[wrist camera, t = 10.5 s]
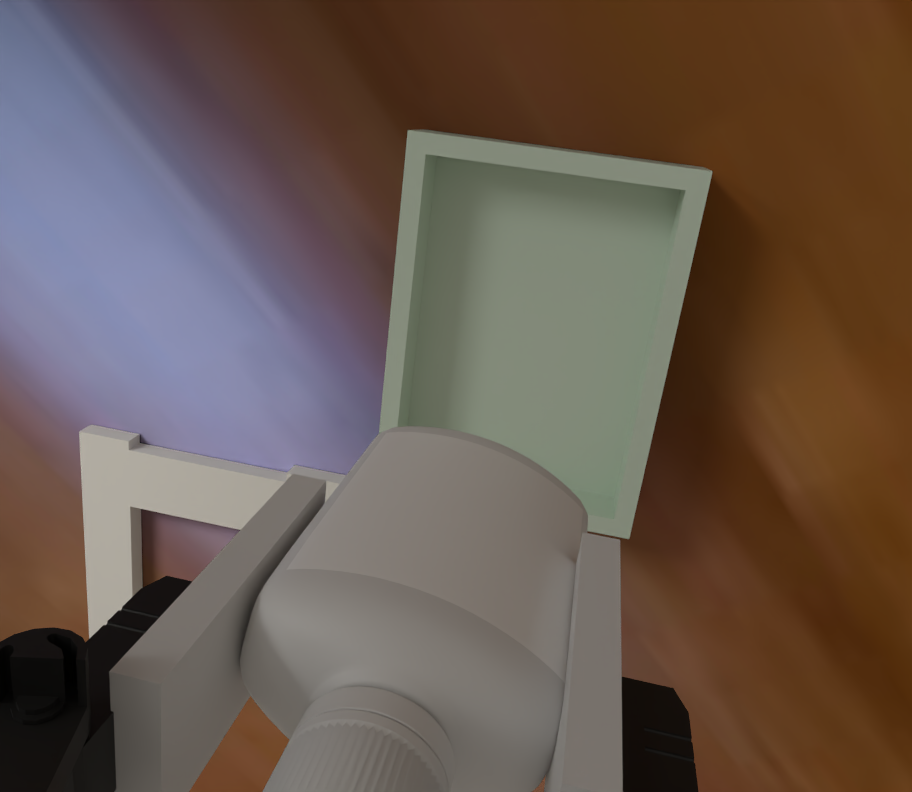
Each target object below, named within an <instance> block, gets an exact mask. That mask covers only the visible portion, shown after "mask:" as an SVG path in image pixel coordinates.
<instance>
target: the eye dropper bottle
mask: <svg viewBox="0 0 912 792" xmlns="http://www.w3.org/2000/svg"><path fill="white" fill-rule="evenodd" d="M587 528H588V514H587V512H586V510H585V508H584V506H583V504H582V502H581V500H580V499H579V498H578V497H577V496H576V495H575V494H574V493H573V492H572V491H571V490H570V489H569V488H568V487H567V486H566V485H565V484H564V483H562V482H561V481H560V480H559V479H558V478H556V477H555V476H554V475H553V474H551V473H550V472H549V471H547V470H546V469H544V468H543V467H542V466H540V465H539V464H537V463H535V462H534V461H532V460H531V459H529V458H527V457H526V456H524V455H522V454H520V453H518V452H516V451H514V450H512V449H510V448H508V447H506V446H504V445H501V444H499V443H497V442H494V441H491V440H489V439H486V438H483V437H480V436H476V435H473V434H469V433H465V432H461V431H456V430H450V429H444V428H436V427H423V426H405V427H394V428H391V429H388V430H386V431H383V432H381V433H379V434H378V435H377V436H376V438H375V439H374V440H373V441H372V443H371V444H370V445H369V447H368V448H367V449H366V450H365V452H364V453H363V454H362V456H361V457H360V458H359V459H358V461H357V462H356V463H355V465H354V466H353V467H352V469H351V470H350V471H349V472H348V474H347V475H346V476H345V478H344V479H343V480H342V482H341V483H340V484H339V485H338V487H337V488H336V489H335V491H334V492H333V493H332V495H331V496H330V497H329V499H328V500H327V501H326V502H325V504H324V505H323V506H322V508H321V509H320V510H319V512H318V513H317V514H316V516H315V517H314V518H313V520H312V521H311V522H310V524H309V525H308V526H307V527H306V529H305V530H304V531H303V533H302V534H301V535H300V537H299V538H298V539H297V541H296V542H295V543H294V545H293V546H292V547H291V549H290V550H289V551H288V552H287V554H286V555H285V557H284V558H283V559H282V561H281V562H280V564H279V565H278V566H277V568H276V569H275V571H274V572H273V573H272V575H271V576H270V578H269V579H268V580H267V582H266V583H265V584H264V586H263V588H262V590H261V592H260V593H259V595H258V597H257V599H256V602H255V605H254V608H253V610H252V613H251V617H250V620H249V623H248V627H247V630H246V634H245V638H244V641H243V645H242V650H241V656H240V668H241V676H242V680H243V682H244V685H245V686H246V688H247V690H248V692H249V693H250V695H251V697H252V698H253V700H254V701H255V702H256V704H257V705H258V706H259V707H260V709H261V710H262V711H263V712H264V713H265V715H266V716H267V717H268V718H269V719H270V720H271V721H272V722H273V723H274V724H275V725H276V726H277V728H278V729H279V730H280V731H281V732H282V733H283V734H284V735H285V736H286V737H287V738H288V739H289V740H290V741H289V743H288V744H287V746H286V748H285V750H284V752H283V754H282V756H281V758H280V760H279V762H278V763H277V765H276V767H275V769H274V771H273V773H272V775H271V777H270V779H269V780H268V782H267V784H266V786H265V788H264V790H263V792H532V791H533V790H534V789H535V788H537V787H538V786H539V784H540V783H541V781H542V780H543V778H544V777H545V775H546V773H547V772H548V770H549V768H550V765H551V761H552V758H553V754H554V749H555V745H556V740H557V735H558V730H559V724H560V718H561V712H562V704H563V697H564V688H565V678H566V668H567V657H568V647H569V636H570V625H571V614H572V603H573V592H574V581H575V570H576V563H577V558H578V553H579V548H580V543H581V538H582V533H583V532H584V533H587Z"/></svg>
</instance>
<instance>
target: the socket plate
mask: <svg viewBox="0 0 912 792" xmlns="http://www.w3.org/2000/svg"><path fill="white" fill-rule="evenodd" d="M79 438H80V458H81V478H82V499H83V519H84V539H85V560H86V580H87V600H88V621H89V639H90V638H91V637H92V636H93V635H94V634H95V633H96V632H97V631H98V630H99V629H100V628H101V627H102V626H103V625H106V624H107V621H108V620H109V619H110V618H111V617H112V616H113V615H114V614H115V613H116V612H117V611H118V610H120V611H121V610H122V606H123V605H124V604H126V603H127V602H128V601H129V600H130V599H131V598H132V597H133V596H134V595H135V594H136V593H137V592H138V591H139V590H140V589H141V588H143V582H142V533H141V509H144V510H149V511H154V512H159V513H163V514H168V515H173V516H177V517H182V518H187V519H191V520H196V521H201V522H206V523H210V524H215V525H220V526H224V527H229V528H234V529H239V530H241V529H242V528H243V527H244V526H245V525H246V524H247V523H248V521H249V520H250V519H251V518H252V517H253V516H254V515H255V514H256V513H257V512H258V511H259V510H260V509H261V507H262V506H263V505H264V504H265V503H266V502H267V501H268V500H269V499H270V498H271V497H272V496H273V494H274V493H275V492H276V491H277V490H278V489H279V488H280V487H281V486H282V485H283V484H284V483H285V482H286V480H287V479H288V478H289V477H290V476H291V475H292V474H297V475H302V476H307V477H312V478H317V479H322V480H327V481H326V495H325V502H326V501H327V500H328V499H329V497H330V496H331V495H332V493H333V492H334V491H335V489H336V488H337V487H338V485H339V484H340V483H341V482H342V480H343V479H344V478H345V476H346V475H342V474H337V473H332V472H327V471H322V470H317V469H312V468H307V467H302V466H297V465H294V466H293V467H292V468H291V469H290V470H289V471H288V472H282V471H277V470H272V469H267V468H262V467H257V466H252V465H247V464H242V463H237V462H232V461H227V460H222V459H217V458H212V457H207V456H202V455H197V454H192V453H187V452H182V451H177V450H172V449H167V448H162V447H157V446H152V445H147V444H142V443H140V434H136V433H131V432H126V431H121V430H116V429H111V428H106V427H101V426H96V425H90V426H88V427H86V428H84V429H83V430H81V431H79Z"/></svg>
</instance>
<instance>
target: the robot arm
mask: <svg viewBox="0 0 912 792" xmlns="http://www.w3.org/2000/svg"><path fill="white" fill-rule="evenodd" d="M326 481H327V480H322V479H317V478H312V477H307V476H302V475H297V474H292V475H291V476H290V477H289V478H288V479H287V480H286V482H285V483H284V484H283V485H282V486H281V487H280V488H279V489H278V490H277V491H276V492H275V493H274V494H273V496H272V497H271V498H270V499H269V500H268V501H267V502H266V503H265V504H264V505H263V506H262V507H261V509H260V510H259V511H258V512H257V513H256V514H255V515H254V516H253V517H252V518H251V519H250V520H249V521H248V523H247V524H246V525H245V526H244V527H243V528H242V529H241V530H240V531H239V532H238V533H237V534H236V535H235V537H234V538H233V539H232V540H231V541H230V542H229V543H228V544H227V545H226V546H225V547H224V548H223V549H222V551H221V552H220V553H219V554H218V555H217V556H216V557H215V558H214V559H213V560H212V561H211V562H210V563H209V565H208V566H207V567H206V568H205V569H204V570H203V571H202V572H201V573H200V574H199V575H198V576H197V578H196V579H195V580H194V581H193V582H192V581H187V580H183V579H178V578H174V577H170V576H165V577H163V578H161V579H159V580H157V581H155V582H153V583H151V584H149V585H147V586H145V587H143V588H141V589H140V590H139V591H138V592H137V593H136V594H135V595H134V596H133V597H132V598H131V599H130V600H129V601H128V602H127V603H126V604H124V605H123V606H122V610H121V611H120V610H118V611H117V612H116V613H115V614H114V615H113V616H112V617H111V618H110V619H109V620H108V621H107V624H106V625H103V626H102V627H101V628H100V629H99V630H98V631H97V632H96V633H95V634H94V635H93V636H92V637H91V638H90V639H89V640H88V641H87V642H86V643H85V641H84V639H83V638H82V637H81V636H79V635H77V634H76V633H74V632H72V631H70V630H65V629H59V628H40V629H32V630H28V631H25V632H21V633H18V634H14V635H12V636H10V637H8V638H6V639H5V640H3V641H1V642H0V792H189V791H190V789H191V788H192V786H193V785H194V783H195V781H196V780H197V778H198V777H199V775H200V774H201V772H202V771H203V769H204V767H205V766H206V764H207V763H208V761H209V760H210V758H211V756H212V755H213V753H214V752H215V750H216V749H217V747H218V746H219V744H220V742H221V741H222V739H223V738H224V736H225V735H226V733H227V731H228V730H229V728H230V727H231V725H232V724H233V722H234V721H235V719H236V717H237V716H238V714H239V713H240V711H241V710H242V708H243V706H244V705H245V703H246V702H247V700H248V699H249V697H250V696H251V695H250V693H249V692H248V690H247V688H246V686H245V685H244V682H243V680H242V676H241V668H240V656H241V650H242V645H243V641H244V638H245V634H246V630H247V627H248V623H249V620H250V617H251V613H252V610H253V608H254V605H255V602H256V599H257V597H258V595H259V593H260V592H261V590H262V588H263V586H264V584H265V583H266V582H267V580H268V579H269V578H270V576H271V575H272V573H273V572H274V571H275V569H276V568H277V566H278V565H279V564H280V562H281V561H282V559H283V558H284V557H285V555H286V554H287V552H288V551H289V550H290V549H291V547H292V546H293V545H294V543H295V542H296V541H297V539H298V538H299V537H300V535H301V534H302V533H303V531H304V530H305V529H306V527H307V526H308V525H309V524H310V522H311V521H312V520H313V518H314V517H315V516H316V514H317V513H318V512H319V510H320V509H321V508H322V506H323V505H324V504H325V495H326ZM691 738H692V737H691V729H690V721H689V713H688V711H687V710H686V708H685V706H684V705H683V703H682V702H681V700H680V698H679V697H678V695H677V694H676V692H675V690H674V689H673V688H670V687H665V686H661V685H656V684H652V683H648V682H643V681H639V680H634V679H630V678H625V677H622V675H621V580H620V540H618V539H614V538H609V537H604V536H599V535H594V534H589V533H584V532H583V533H582V538H581V543H580V548H579V553H578V558H577V563H576V570H575V581H574V592H573V603H572V614H571V625H570V636H569V647H568V657H567V668H566V678H565V688H564V697H563V704H562V712H561V718H560V724H559V730H558V735H557V740H556V745H555V749H554V754H553V758H552V761H551V765H550V768H549V770H548V772H547V773H546V779H545V788H544V792H698V785H697V777H696V769H695V763H694V753H693V745H692V742H691Z"/></svg>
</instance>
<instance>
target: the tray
mask: <svg viewBox="0 0 912 792" xmlns="http://www.w3.org/2000/svg"><path fill="white" fill-rule="evenodd" d="M712 172H713V171H711V170H709V169H707V168H705V167H699V166H691V165H684V164H677V163H669V162H662V161H654V160H647V159H639V158H632V157H625V156H617V155H610V154H602V153H595V152H588V151H580V150H573V149H565V148H558V147H551V146H543V145H536V144H528V143H521V142H514V141H506V140H499V139H491V138H484V137H477V136H469V135H462V134H454V133H447V132H440V131H432V130H408V133H407V144H406V154H405V165H404V175H403V186H402V196H401V207H400V217H399V228H398V238H397V249H396V259H395V270H394V280H393V291H392V301H391V312H390V323H389V333H388V344H387V354H386V365H385V375H384V386H383V396H382V407H381V417H380V428H379V433H381V432H383V431H386V430H388V429H391V428H394V427H405V426H423V427H436V428H444V429H450V430H456V431H461V432H465V433H469V434H473V435H476V436H480V437H483V438H486V439H489V440H491V441H494V442H497V443H499V444H501V445H504V446H506V447H508V448H510V449H512V450H514V451H516V452H518V453H520V454H522V455H524V456H526V457H527V458H529V459H531V460H532V461H534V462H535V463H537V464H539V465H540V466H542V467H543V468H544V469H546V470H547V471H549V472H550V473H551V474H553V475H554V476H555V477H556V478H558V479H559V480H560V481H561V482H562V483H564V484H565V485H566V486H567V487H568V488H569V489H570V490H571V491H572V492H573V493H574V494H575V495H576V496H577V497H578V498H579V499H580V500H581V502H582V504H583V506H584V508H585V510H586V512H587V514H588V528H587V531H591V532H596V533H601V534H606V535H611V536H616V537H621V538H626V539H629V538H630V533H631V529H632V525H633V520H634V516H635V511H636V507H637V502H638V498H639V494H640V489H641V485H642V480H643V476H644V472H645V467H646V463H647V458H648V454H649V450H650V445H651V441H652V436H653V432H654V428H655V423H656V419H657V414H658V410H659V406H660V401H661V397H662V392H663V388H664V384H665V379H666V375H667V370H668V366H669V362H670V357H671V353H672V348H673V344H674V340H675V335H676V331H677V326H678V322H679V318H680V313H681V309H682V304H683V300H684V296H685V291H686V287H687V282H688V278H689V274H690V269H691V265H692V260H693V256H694V252H695V247H696V243H697V238H698V234H699V230H700V225H701V221H702V216H703V212H704V208H705V203H706V199H707V194H708V190H709V186H710V181H711V177H712Z"/></svg>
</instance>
